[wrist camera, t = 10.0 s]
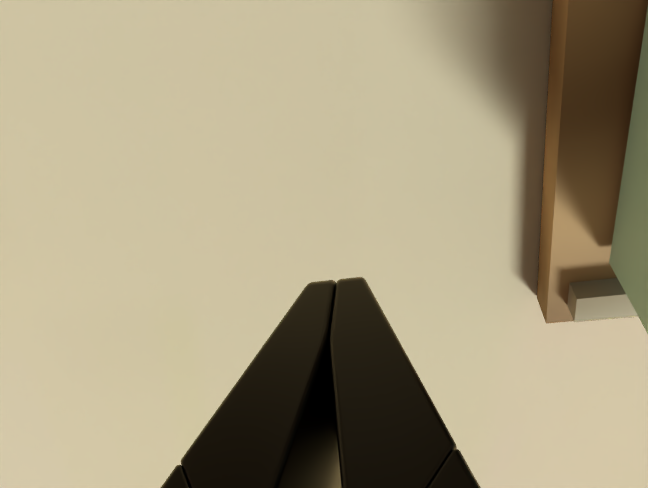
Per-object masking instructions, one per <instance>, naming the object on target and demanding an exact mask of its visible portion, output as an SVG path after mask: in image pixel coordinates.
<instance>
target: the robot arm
mask: <svg viewBox="0 0 648 488" xmlns="http://www.w3.org/2000/svg"><path fill="white" fill-rule="evenodd" d="M181 464H182V465H177V466H176V467H175V469H174V470H173V471H172V473H171V474H170V476H169V477H168V478H167V480H166V481H165V483H164V484H163V485H162V487H161V488H480V486H479V484H478V482H477V481H476V479H475V477H474V476H473V474H472V472H471V470H470V469H469V467H468V465H467V463H466V461H465V460H464V458H463V456H462V454H461V452H460V451H459V450H458V449H457V448H456V444H455V442H454V440H453V438H452V437H451V435H450V433H449V431H448V429H447V427H446V426H445V424H444V422H443V420H442V418H441V417H440V415H439V413H438V411H437V409H436V407H435V406H434V404H433V402H432V400H431V398H430V397H429V395H428V393H427V391H426V389H425V387H424V386H423V384H422V382H421V380H420V378H419V377H418V375H417V373H416V371H415V369H414V367H413V366H412V364H411V362H410V360H409V358H408V357H407V355H406V353H405V351H404V349H403V347H402V346H401V344H400V342H399V340H398V338H397V337H396V335H395V333H394V331H393V329H392V327H391V326H390V324H389V322H388V320H387V318H386V317H385V315H384V313H383V311H382V309H381V307H380V306H379V304H378V302H377V300H376V298H375V297H374V295H373V293H372V291H371V289H370V287H369V286H368V284H367V282H366V280H365V279H364V278H362V277H356V278H347V279H340V280H338V281H337V283H336V282H335V281H333V280H328V281H319V282H311V283H309V284H308V285H307V286H306V287H305V288H304V290H303V291H302V293H301V294H300V295H299V297H298V298H297V300H296V301H295V302H294V304H293V305H292V307H291V308H290V309H289V311H288V312H287V313H286V315H285V316H284V318H283V319H282V320H281V322H280V323H279V325H278V326H277V327H276V329H275V330H274V332H273V333H272V334H271V336H270V337H269V338H268V340H267V341H266V343H265V344H264V345H263V347H262V348H261V350H260V351H259V352H258V354H257V355H256V357H255V358H254V359H253V361H252V362H251V363H250V365H249V366H248V368H247V369H246V370H245V372H244V373H243V375H242V376H241V377H240V379H239V380H238V382H237V383H236V384H235V386H234V387H233V388H232V390H231V391H230V393H229V394H228V395H227V397H226V398H225V400H224V401H223V402H222V404H221V405H220V407H219V408H218V409H217V411H216V412H215V414H214V415H213V416H212V418H211V419H210V420H209V422H208V423H207V425H206V426H205V427H204V429H203V430H202V432H201V433H200V434H199V436H198V437H197V439H196V440H195V441H194V443H193V444H192V445H191V447H190V448H189V450H188V451H187V452H186V454H185V455H184V457H183V458H182V459H181Z"/></svg>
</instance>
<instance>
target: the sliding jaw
mask: <svg viewBox="0 0 648 488" xmlns="http://www.w3.org/2000/svg"><path fill="white" fill-rule="evenodd" d="M609 264H610V265H611V267H612V269H613V271H614V273H615V275H616V276H617V278H618V280H619V282H620V284H621V286H622V287H623V289H624V291H625V293H626V295H627V297H628V298H629V300H630V302H631V304H632V306H633V308H634V309H635V311H636V313H637V315H638V317H639V318H640V320H641V322H642V324H643V326H644V328H645V329H646V331H647V333H648V7H647V14H646V21H645V27H644V34H643V40H642V47H641V54H640V60H639V67H638V74H637V80H636V87H635V94H634V100H633V107H632V113H631V120H630V127H629V133H628V140H627V147H626V153H625V160H624V167H623V173H622V180H621V186H620V193H619V200H618V206H617V213H616V220H615V226H614V233H613V240H612V246H611V253H610V259H609Z"/></svg>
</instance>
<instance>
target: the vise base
mask: <svg viewBox="0 0 648 488" xmlns="http://www.w3.org/2000/svg"><path fill="white" fill-rule="evenodd" d="M647 7H648V0H553V3H552V22H551V41H550V60H549V79H548V98H547V117H546V136H545V155H544V174H543V193H542V212H541V231H540V250H539V269H538V288H537V299H538V302H539V305H540V307H541V310H542V313H543V316H544V319H545V321H546V323H556V322H567V321H574V322H581V321H592V320H603V319H614V318H625V317H636V316H638V315H637V313H636V311H635V309H634V308H633V306H632V304H631V302H630V300H629V298H628V297H627V295H626V293H625V291H624V289H623V287H622V286H621V284H620V282H619V280H618V278H617V276H616V275H615V273H614V271H613V269H612V267H611V265H610V264H609V259H610V253H611V246H612V240H613V233H614V226H615V220H616V213H617V206H618V200H619V193H620V186H621V180H622V173H623V167H624V160H625V153H626V147H627V140H628V133H629V127H630V120H631V113H632V107H633V100H634V94H635V87H636V80H637V74H638V67H639V60H640V54H641V47H642V40H643V34H644V27H645V21H646V14H647Z"/></svg>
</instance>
